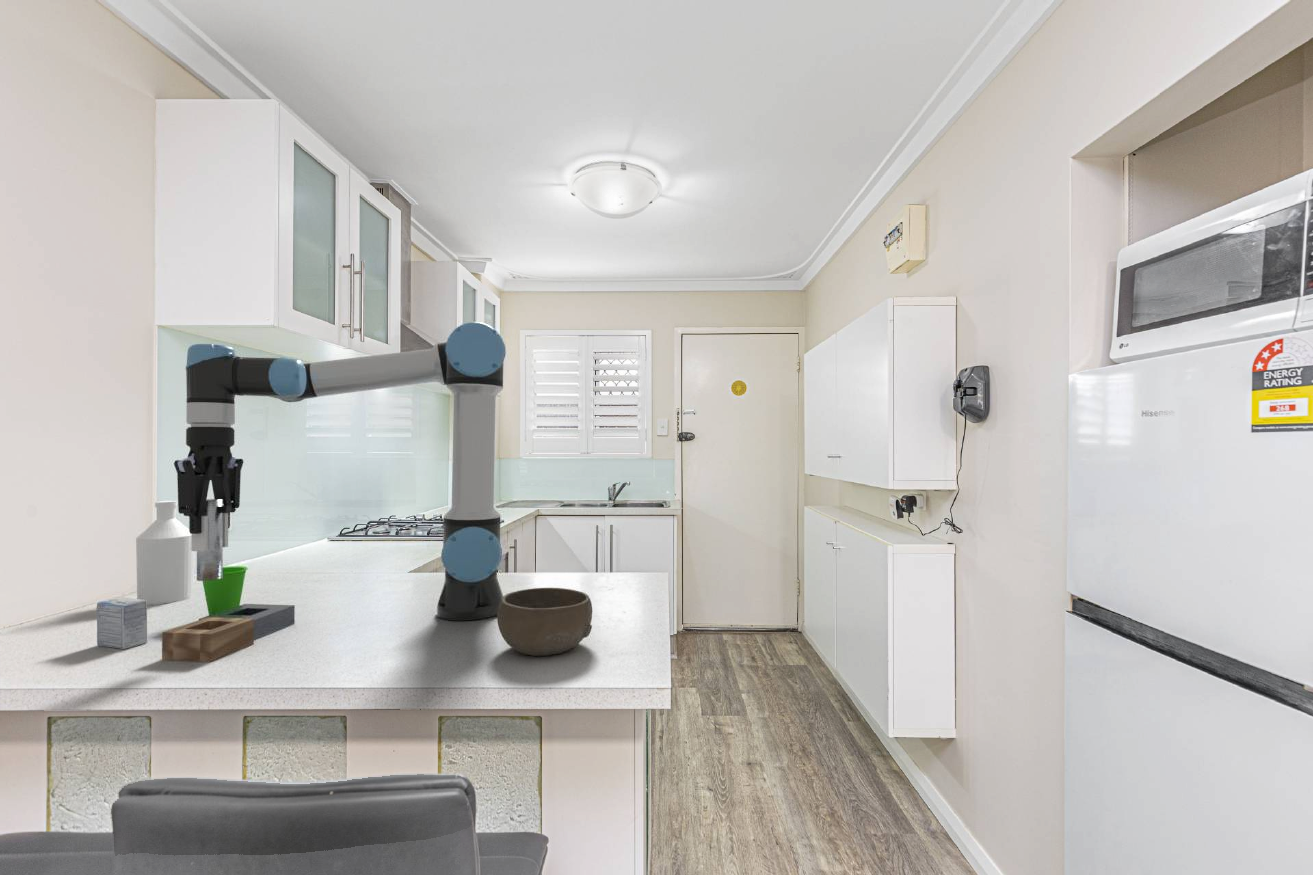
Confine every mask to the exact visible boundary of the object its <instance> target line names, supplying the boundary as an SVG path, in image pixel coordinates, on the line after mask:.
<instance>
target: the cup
mask: <svg viewBox="0 0 1313 875" xmlns="http://www.w3.org/2000/svg"><path fill="white" fill-rule="evenodd" d="M248 569H249V568H248V567H247V566H244V565H243V566H242V565H240V566H239V565H234V566H233V565H232V566H223V577H222V578H221V579H216V580H209V581H202V585H203V590H204V597H205V601H206V605H207V606H206V607H207V608H206V609H207V612H208V616H209V615H212V614H215V613H218V612H221V611H224V610H228V609H231V608H234V607H237V606H240V605H241V600H242V594H243V588H244V583H245V577H246V573H247V572H246V571H247V570H248Z"/></svg>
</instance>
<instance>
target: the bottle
mask: <svg viewBox="0 0 1313 875" xmlns="http://www.w3.org/2000/svg"><path fill="white" fill-rule="evenodd" d="M154 507H155V508H156V520H154V521H153V523H151V524H150V525H149V526H148V527H147V528H146V529H145V530H144V531H143V532H141V533H140V534H139V535H137V537H136V538H135V540H136V541H135V543H136V545H135V546H136V548H135V549H136V596H137V598H136V599H142V600H146V601H147V606H148V605H151V606H152V605H161V604H170V603H175V602H176V603H177V602H182V601H185V600H189V599H191V598H193V597H194V589H195V588H194V584H195V581H194V579H195V577H194V576H195V551H191V538H192V534H190V532H189V528H188V527H187V526H186V525H184V524H183V523H182V522H181V521H180V520H178V519H177V518H176V517H177V507H178V500H161V501H160V500H159V501H154Z"/></svg>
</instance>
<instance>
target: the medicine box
mask: <svg viewBox="0 0 1313 875" xmlns="http://www.w3.org/2000/svg"><path fill="white" fill-rule="evenodd" d="M147 643H148V605H147V601H146V600H142V599H137V598H132V597H122V596H121V597H116V598H110V599H106V600H102V601H98V602H97V604H96V644H97V646H99V647H100V646H101V647H105V648H106V647H107V648H115V649H120V650H125V649H131V648H134V647H137V646H142V645H144V644H147Z"/></svg>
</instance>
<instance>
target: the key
mask: <svg viewBox="0 0 1313 875" xmlns="http://www.w3.org/2000/svg"><path fill="white" fill-rule="evenodd" d="M223 505H224V504H223V499H214V498H207V499H206V505H205V511H204V515H203V516H208V551H196V581H198V582H203V581H209V580H216V579H221V578H222V577H223V567H224V566H223V561H224V559H223V556H224V555H223V552H224V550H223V548H224V547H223V513H230V514H231V513H232V506H223ZM196 509H197V508H196Z"/></svg>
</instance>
